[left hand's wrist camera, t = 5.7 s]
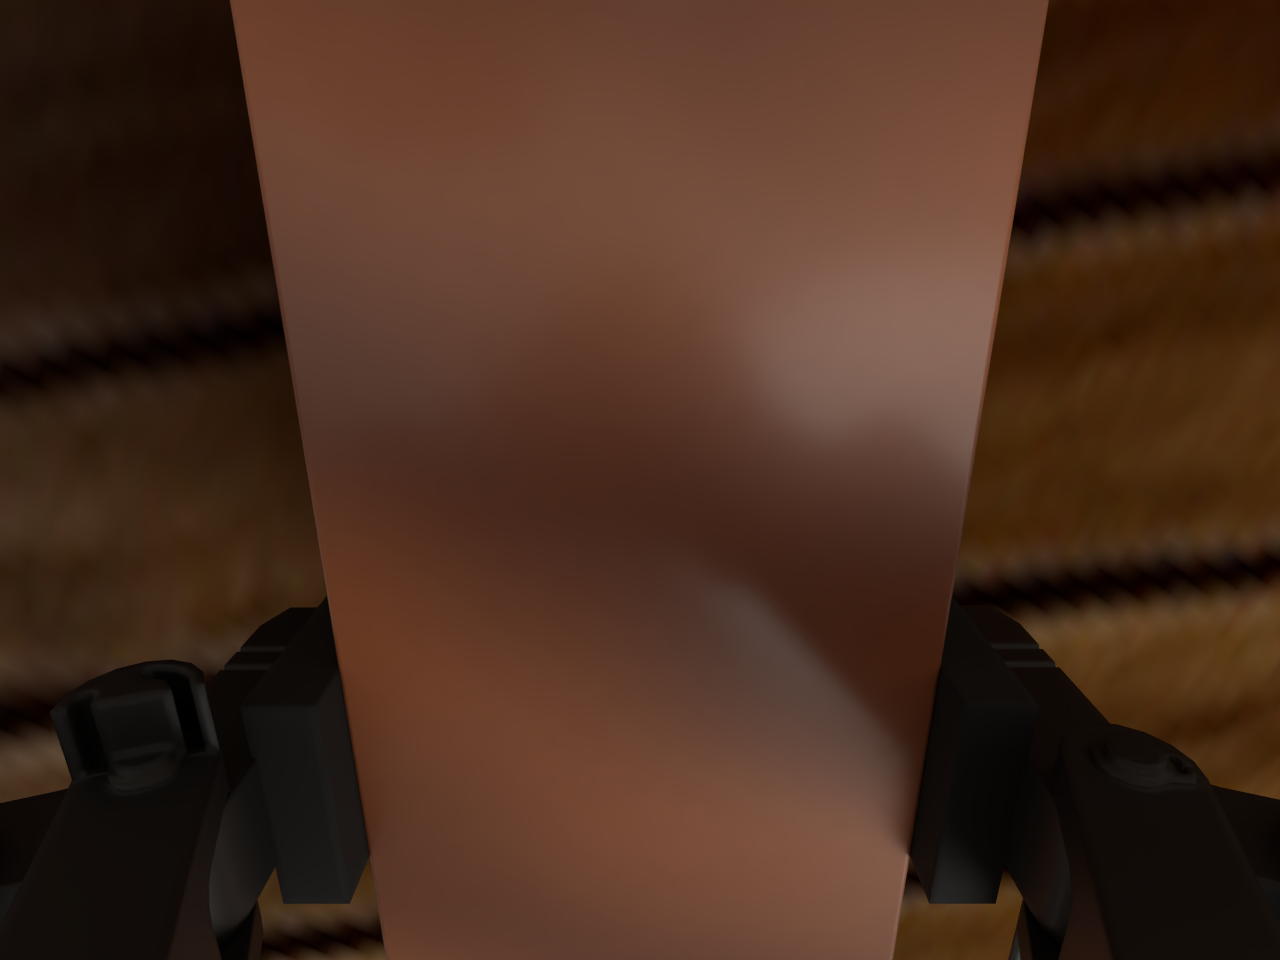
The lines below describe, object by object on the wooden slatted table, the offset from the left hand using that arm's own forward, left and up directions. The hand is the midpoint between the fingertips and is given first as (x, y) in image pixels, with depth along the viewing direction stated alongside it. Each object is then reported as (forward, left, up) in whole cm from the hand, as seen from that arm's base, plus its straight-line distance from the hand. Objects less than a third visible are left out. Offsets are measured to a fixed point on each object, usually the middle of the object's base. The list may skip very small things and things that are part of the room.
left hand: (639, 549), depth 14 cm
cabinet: (+1, +4, -3) cm, 5 cm away
